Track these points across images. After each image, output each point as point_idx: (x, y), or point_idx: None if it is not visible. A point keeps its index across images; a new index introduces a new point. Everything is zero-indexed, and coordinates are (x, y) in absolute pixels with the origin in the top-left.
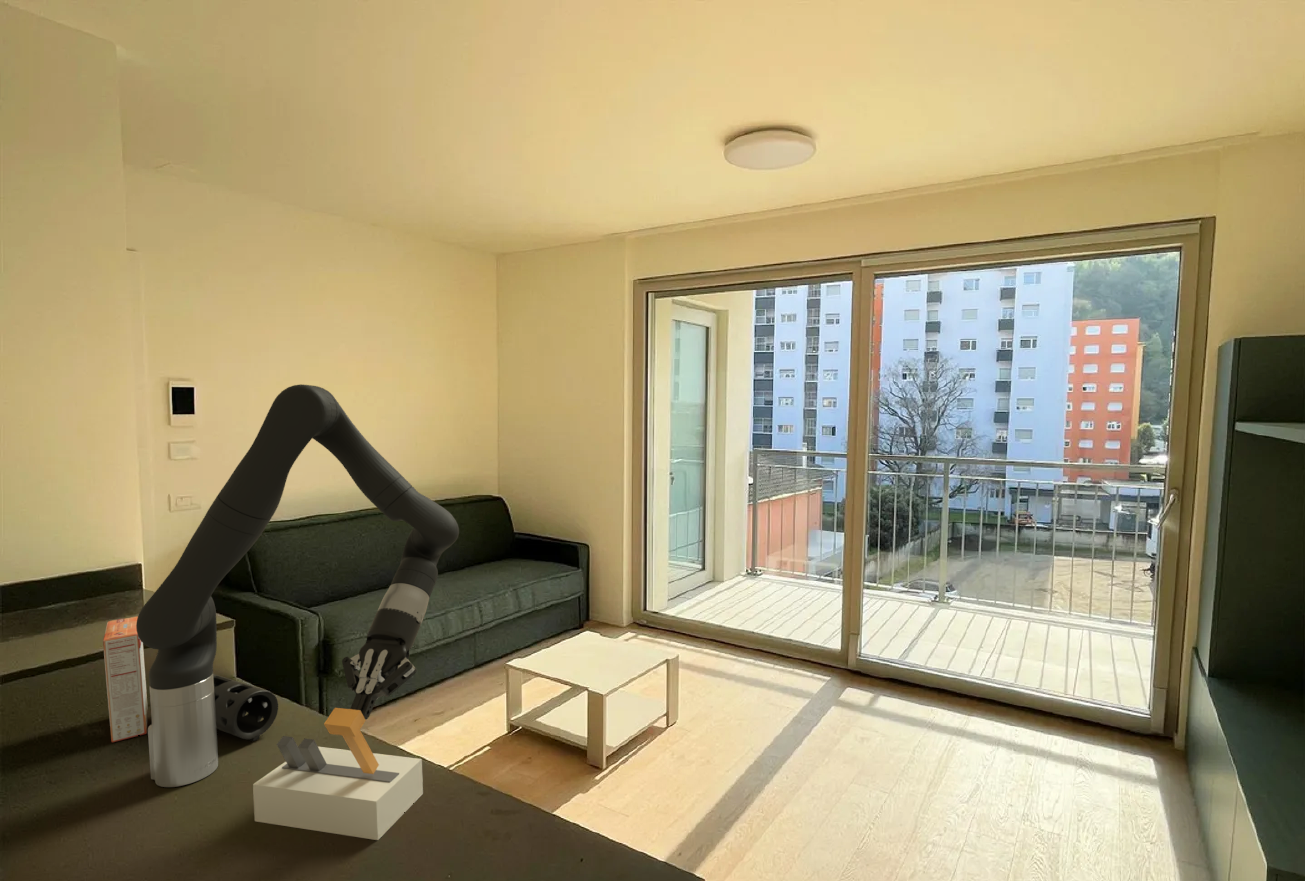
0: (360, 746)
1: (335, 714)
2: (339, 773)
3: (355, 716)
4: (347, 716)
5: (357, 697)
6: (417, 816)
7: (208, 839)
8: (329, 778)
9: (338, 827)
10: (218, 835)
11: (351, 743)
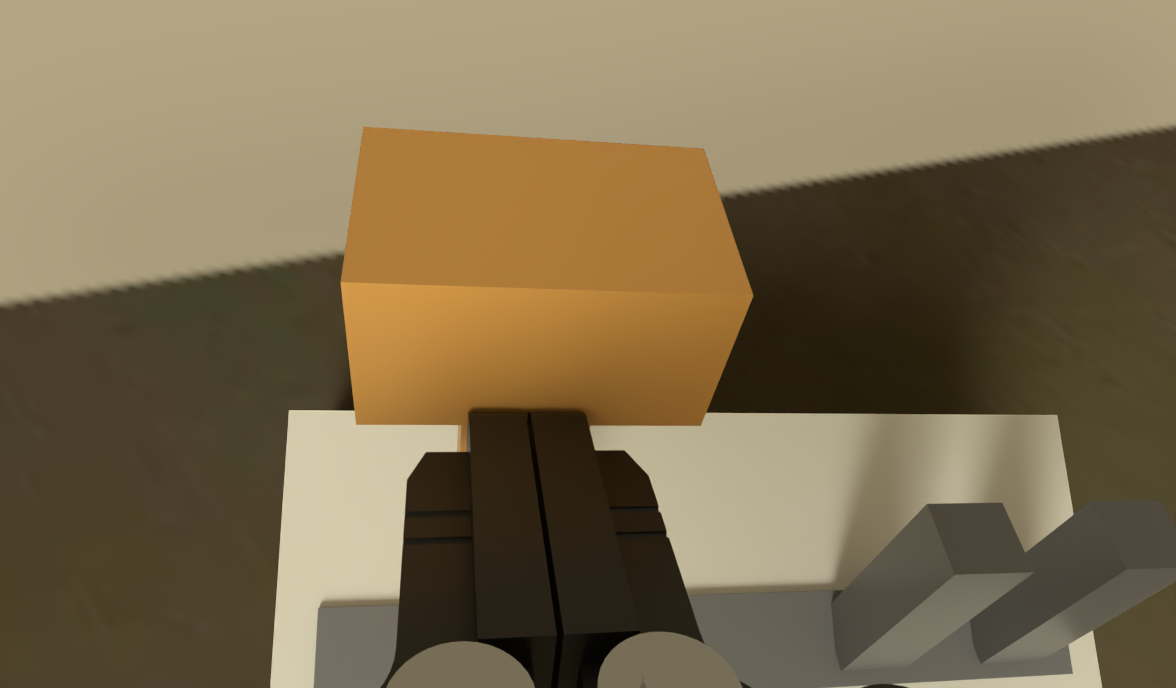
0: None
1: (664, 228)
2: (696, 608)
3: (360, 211)
4: (479, 211)
5: (621, 582)
6: (222, 655)
7: (1002, 312)
8: (722, 558)
9: None
10: (990, 339)
11: None
